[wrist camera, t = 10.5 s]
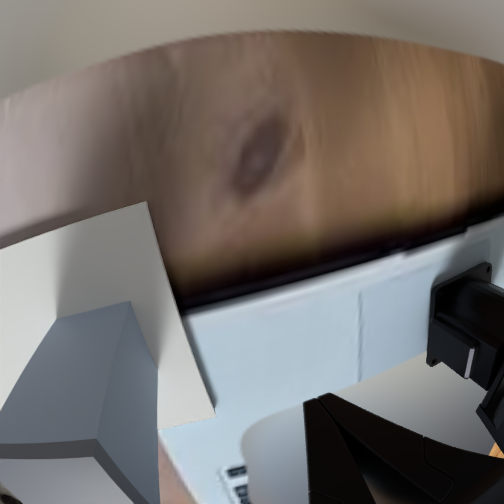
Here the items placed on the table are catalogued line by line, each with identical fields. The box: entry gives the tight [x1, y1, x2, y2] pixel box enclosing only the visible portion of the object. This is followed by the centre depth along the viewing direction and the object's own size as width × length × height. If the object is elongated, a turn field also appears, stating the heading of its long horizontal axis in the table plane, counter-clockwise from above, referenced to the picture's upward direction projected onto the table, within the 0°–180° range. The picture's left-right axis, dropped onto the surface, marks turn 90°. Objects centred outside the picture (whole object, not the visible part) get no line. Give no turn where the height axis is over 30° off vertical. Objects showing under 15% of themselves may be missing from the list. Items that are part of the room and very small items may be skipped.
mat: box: [0, 201, 216, 430], centre depth 14 cm, size 16×12×1 cm
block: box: [0, 301, 160, 504], centre depth 10 cm, size 4×4×9 cm
